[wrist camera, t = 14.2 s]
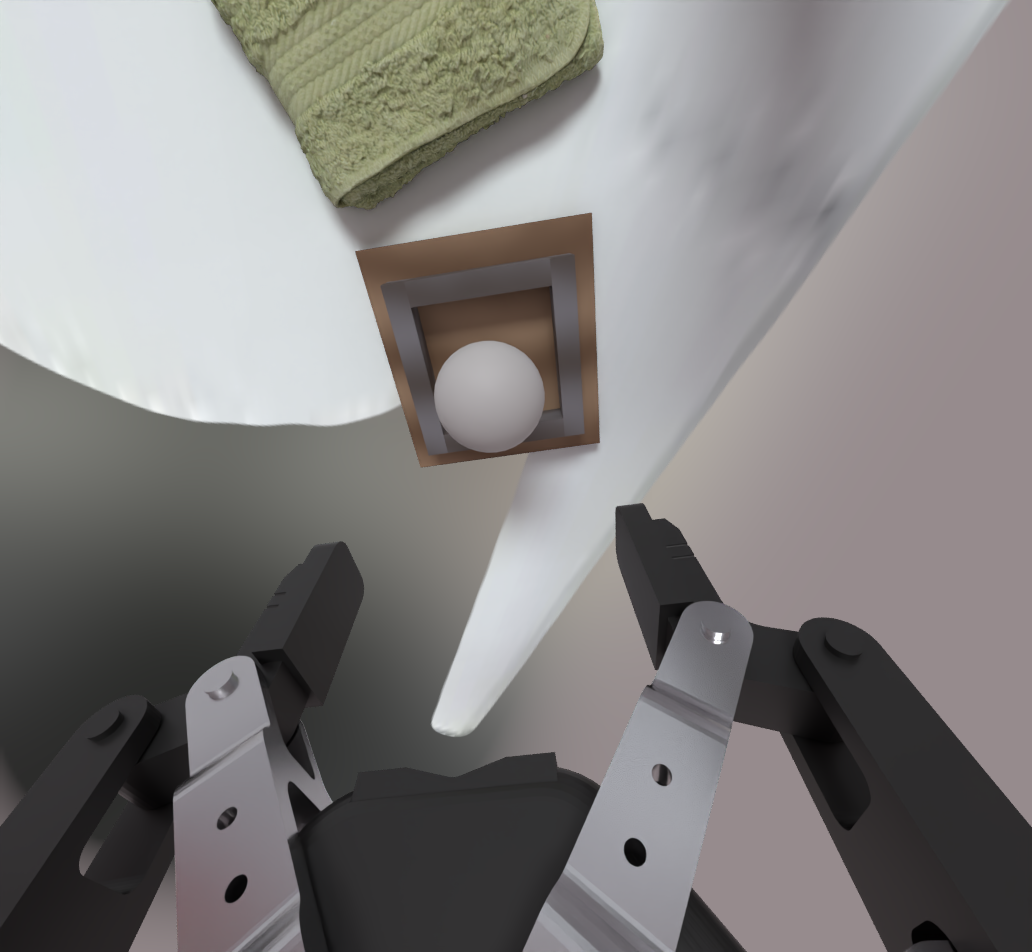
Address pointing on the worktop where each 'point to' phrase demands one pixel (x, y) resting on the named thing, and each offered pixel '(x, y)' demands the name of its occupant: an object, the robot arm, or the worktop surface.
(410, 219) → the worktop surface
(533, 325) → the socket stand
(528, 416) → the lightbulb
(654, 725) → the robot arm
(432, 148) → the washcloth
